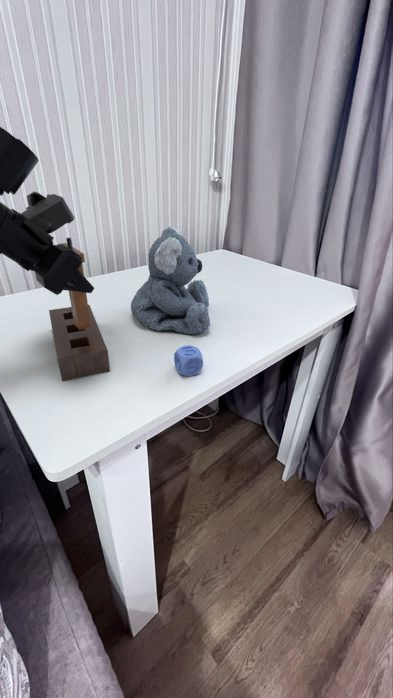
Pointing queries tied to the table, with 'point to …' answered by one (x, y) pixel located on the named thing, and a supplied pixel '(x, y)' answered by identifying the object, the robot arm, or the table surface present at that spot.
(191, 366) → the decorative dice
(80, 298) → the brown beam with peg
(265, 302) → the table surface
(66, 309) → the rack
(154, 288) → the koala plush
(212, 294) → the table surface
